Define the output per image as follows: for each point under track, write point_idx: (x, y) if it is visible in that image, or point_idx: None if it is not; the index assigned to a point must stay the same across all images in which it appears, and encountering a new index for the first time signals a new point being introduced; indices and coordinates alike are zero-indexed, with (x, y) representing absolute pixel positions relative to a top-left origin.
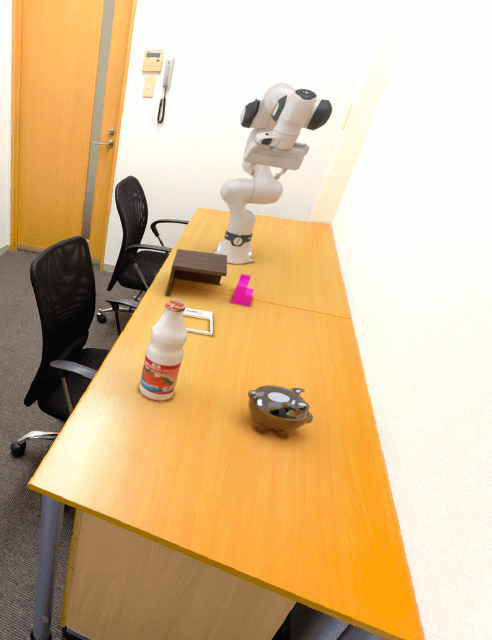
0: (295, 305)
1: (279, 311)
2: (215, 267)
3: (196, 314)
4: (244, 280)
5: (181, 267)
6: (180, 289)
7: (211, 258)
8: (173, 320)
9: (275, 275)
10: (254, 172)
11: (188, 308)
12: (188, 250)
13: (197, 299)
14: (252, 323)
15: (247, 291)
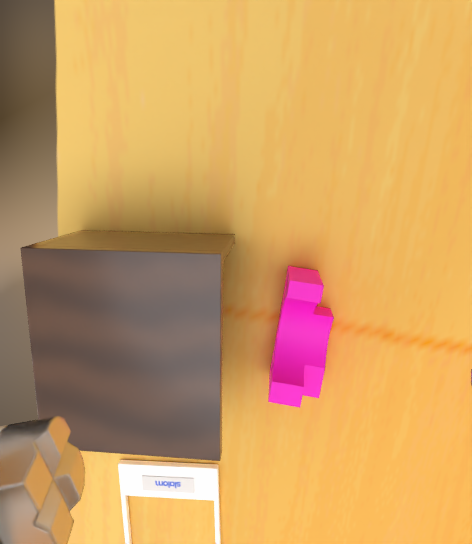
0: (456, 325)
1: (398, 385)
2: (181, 420)
3: (180, 494)
4: (302, 300)
5: None
6: None
7: (161, 324)
8: None
9: (451, 39)
10: (66, 532)
11: (158, 466)
12: (64, 252)
13: None
14: (315, 479)
15: (308, 366)
